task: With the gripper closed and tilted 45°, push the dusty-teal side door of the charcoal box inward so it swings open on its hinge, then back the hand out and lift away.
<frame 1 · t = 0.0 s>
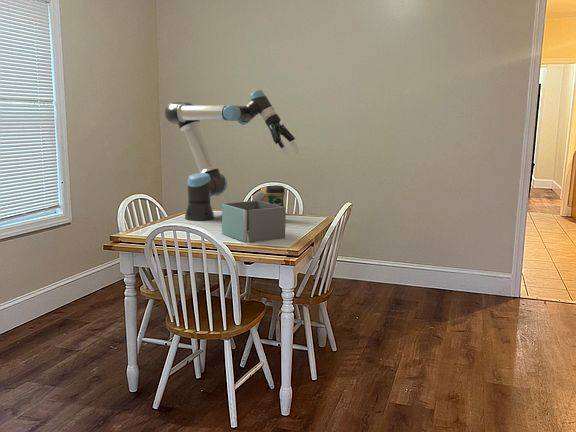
hand: (292, 152, 279), 36 cm above the table, tool tilted 35°, fingers open, 13 cm apart
side door: (234, 222, 242), point 7 cm above the table, hinge at 0.0°
coffee jar: (275, 221, 289), on the table
sandwich container: (255, 214, 310), on the table
charcoal box: (252, 236, 249), on the table
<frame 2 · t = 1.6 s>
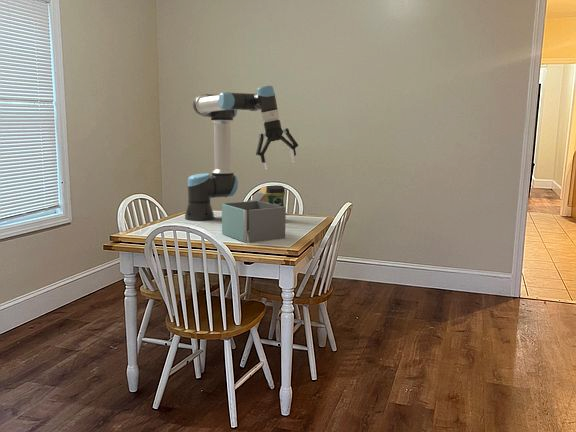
hand: (280, 166, 255), 31 cm above the table, tool pointing down, fingers open, 13 cm apart
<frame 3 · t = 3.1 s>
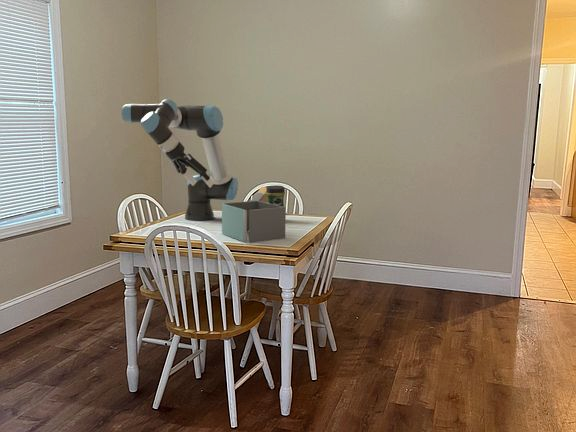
hand: (203, 184, 231), 25 cm above the table, tool tilted 40°, fingers open, 13 cm apart
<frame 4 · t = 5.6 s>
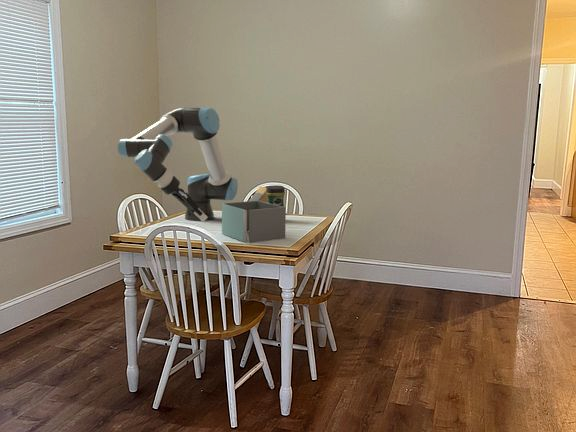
hand: (205, 219, 235), 10 cm above the table, tool tilted 45°, fingers closed
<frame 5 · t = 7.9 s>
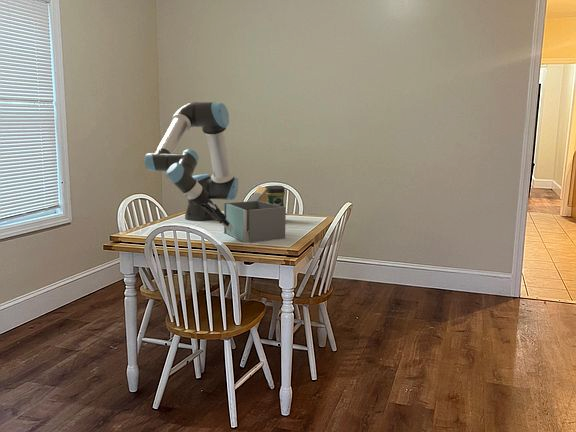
hand: (231, 229, 243), 4 cm above the table, tool tilted 45°, fingers closed
side door: (236, 222, 243), point 7 cm above the table, hinge at 6.1°, touching gripper
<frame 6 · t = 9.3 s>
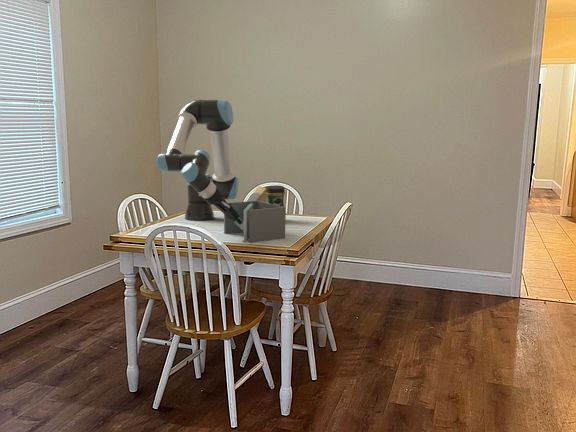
hand: (244, 227, 247), 4 cm above the table, tool tilted 45°, fingers closed
side door: (248, 222, 244), point 7 cm above the table, hinge at 37.5°, touching gripper
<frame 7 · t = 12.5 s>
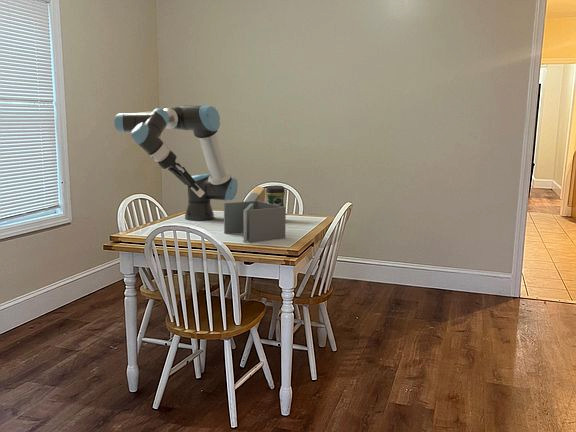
hand: (202, 194, 233), 20 cm above the table, tool tilted 45°, fingers closed
side door: (248, 222, 244), point 7 cm above the table, hinge at 38.0°
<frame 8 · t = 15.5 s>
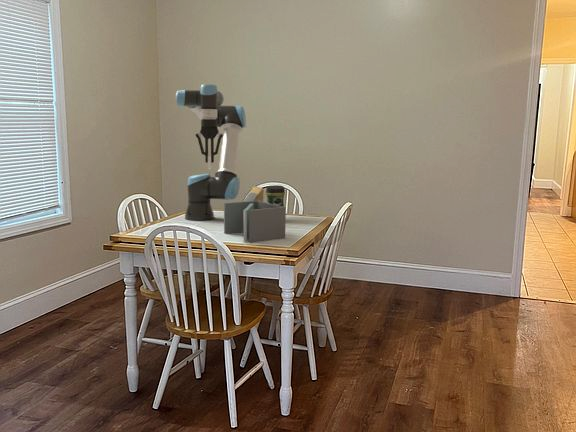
hand: (209, 169, 260), 28 cm above the table, tool pointing down, fingers closed
at the end: side door at +38° (first picture: +0°); coffee jar moved 0.2 cm from its start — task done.
